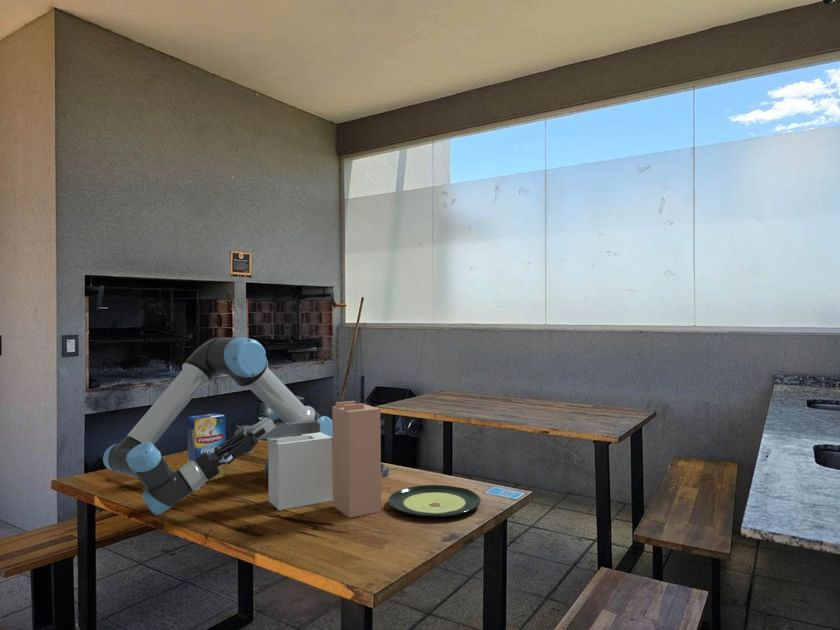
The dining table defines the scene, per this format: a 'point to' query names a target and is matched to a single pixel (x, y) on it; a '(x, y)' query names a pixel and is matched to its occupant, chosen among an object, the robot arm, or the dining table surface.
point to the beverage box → (206, 437)
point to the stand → (356, 458)
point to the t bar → (286, 429)
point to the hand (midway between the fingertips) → (271, 422)
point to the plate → (434, 500)
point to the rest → (300, 470)
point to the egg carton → (385, 470)
